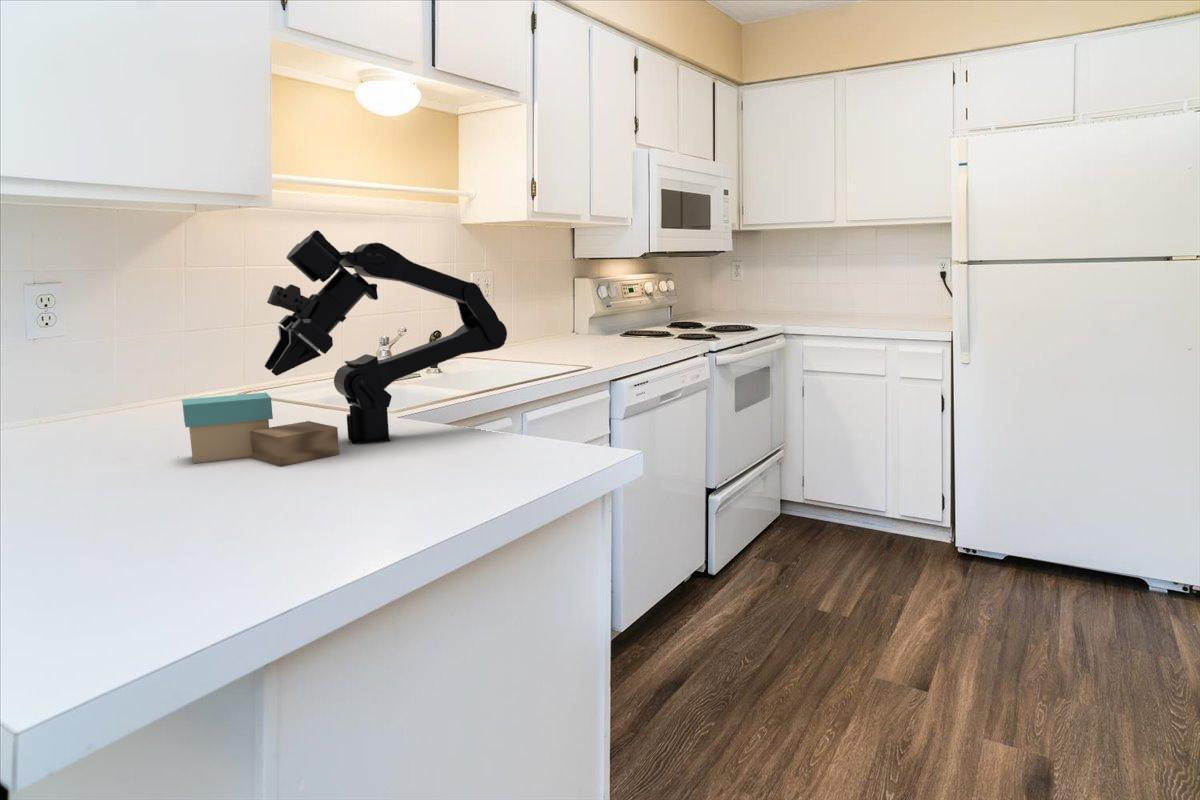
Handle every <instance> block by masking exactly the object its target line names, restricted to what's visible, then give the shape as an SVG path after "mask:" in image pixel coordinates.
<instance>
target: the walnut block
mask: <svg viewBox="0 0 1200 800" xmlns="http://www.w3.org/2000/svg"><path fill="white" fill-rule="evenodd" d="M338 431H339V429H338V427H337V426H333V425H329V424H324V423H318V422H314V421H310V420H307V421H301V422H296V423H289V424H283V425H276V426H271V427H270V426H269V428H263V429H257V430H251V431H250V432H251V443H252V454H253V456H252V459H255V460H258V461H261V462H265V463H268V464H271V465H275V466H279V467H283V466H288V465H293V464H299V463H303V462H308V461H312V460H317V459H323V458H327V457H333V456H337V455H340V446H339V445H340V444H339V433H338Z"/></svg>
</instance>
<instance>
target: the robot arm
mask: <svg viewBox="0 0 1200 800" xmlns="http://www.w3.org/2000/svg"><path fill="white" fill-rule="evenodd" d="M286 260H288V262H289V263H291V264H292V265H293V266H294V267H296V268H297V269H298V270H299V271H300V273H302V274H303V275H304V276H305V277H307V278H308V279H309V280H310V281H311V282H312V283H315V282H317V281H318V280H319V281H320V282H321V283H325V282H326V281H327V282H326V284H325V285H324V286H322V288H321V289H320V290H319V291H318V292H317V293H314V294H313V293H311V295H310V296H309V297H306V296H305V295H303V294H302V293H301V287H300V286H296V285H294V284H289V285H287V286H285V288H284V287H283V286H278V285H273V287H272V289H271V292H270V294H269V297H268V299H267V301H266V303H267V304H269V305H272V306H274V307H279V308H282V309H284V310H288V311H290V312H292V314H286V315H285V316H284V317H283V318H282V319H281V320H280V321H279V322H278V324H279V325H277V328H278V334H279V338H278V341H277V343H276V344H275V346H274V347H273V350H272V352H271V353H270V355H269V357H268V359H267V361H266V363H265V364H264V368H266V369H267V370H268V371H271V373H272V374H273V375H274V376H276V377H278V376H279V375H282V374H284V373H286V372H289V371H290V370H292V369H295V368H296V367H297V368H298V367H299V366H301V365H303V364H305V363H307V362H310V361H312V360H314V359H316V358H318V357H321V356H322V354H324V355H325V354H327V353H328V351H330V349H332V347H333V346H334V343H333V342H334V341H333V336H331V335H330V333H331V332H332V331H333V330H334V329H335V328H336V327H337V325H338V324H339V323H343V322H344V321H346V319H347V317H346V316H347V315H348V314H349V312H350V311H351V310H352V309H353V308H354V307H355V306H356V304H358V303H359V302H360V300H361V299H362V298H363V297H364V296H366V297H367V298H368V299H369V300H374V301H377V300H379V296H378V291H377V290H378V284H377V283H369V282H368V281H367V280H366V279H364V277H365V278H371V279H379V280H386V281H393V282H400V283H404V284H407V285H409V286H412V287H414V288H418V289H421V290H424V291H427V292H430V293H433V294H435V295H436V294H437V295H438V296H442V297H445V298H448V299H450V300H454V301H455V303H456V304H457V307H458V310H459V311H458V312H459V316H460V320H461V321H462V323H463V325H461V326H459V327H458V328H457V329H456V330H455V331H454V332H452V333H451V334H448V335H446V336H444V337H441V338H438V339H435V340H433V341H430V342H427V343H425V344H422V345H419V346H416V347H414V348H411V349H408V350H404V351H403V352H401V353H397V354H395V355H392V356H388V357H386V358H384V359H378V356H375V355H371V354H367V353H366V354H363V355H361V356H359V357H358V358H356V359H353V360H344V363H345V364H344V365H342V366H340V367H339V368H338V369H337V370H336V372H335V374H334V376H333V385H334V388H335V390H336V391H337V392H338V393H339V394H340V395H342V396H343V397H344V398H345V401H346V402H347V404H348V405H349V406H348V407H349V413H348V414H346V425H347V426H346V427H347V429H346V430H347V439H348V440H349V441H350V442H351V445H362V444H372V443H374V442H375V443H384V442H386V441H387V442H391V436H390V431H389V429H390V428H389V415H388V408H389V407H390V404H391V401H392V399H393V398H392V397H393V396H392V395H391V394H390V393H389V392H388V391H387V390H386V388H387V387H389V385H392V383H393V382H395V381H397V380H399V379H402V378H405V377H407V376H409V375H412V374H415V373H417V372H420V371H423V370H425V369H428V368H430V367H433V366H436V365H438V364H441V363H444V362H446V361H449V360H451V359H454V358H457V357H460V356H462V355H466V354H473V353H483V352H488V351H489V352H490V351H494V350H498V349H500V348H502V347H503V346H504V345H505V344H506V340H507V337H508V330H507V327H506V325H505V324H504V323H503V321H502V320H500V319H499V317H498V315H497V313H496V310H494V308H493V306H491V304H490V303H489V301H488V300H487V299H486V297H485V296H484V294H483V292H482V290H481V288H480V287H479V285H478V284H477V283H475V282H473V281H472V282H469V281H465V280H463V279H460V278H458V277H455V276H452V275H449V274H446V273H443V272H441V271H437V270H435V269H432V268H429V267H427V266H424V265H422V264H420V263H419V264H418V263H416V262H413V261H412V260H409V259H408V258H406V257H405V256H404V255H403V254H401V253H400V252H398V251H396V250H394V249H392V248H391V247H389V246H387V245H386V244H384V243H381V242H371V243H364V244H363V243H362V244H360V245H358V246H357V247H356V248H354V249H353V251H352V252H350V251H348V250H346V251H345V250H344V251H339V250H338V249H337V248H336V247H335V246H334V245H332V243H330V242H329V241H328V239H326V237H325V235H324V234H322V232H320V231H319V229H317V230H313V231H312V232H311V233H310V234H309V235H308V236H307V237H304V239H302V241H300V242H299V243H296V244H295V245H294V247H293V248H292V249H291V250H290V251H289V252H288V253H287V255H286ZM346 268H349V269H353V270H354V271H355V272H354V273H351V272H350V271H348V270H347V269H346ZM337 270H338V271H337ZM336 271H337V272H336ZM334 273H335V274H334ZM332 276H333V277H332ZM330 278H331V279H330ZM321 353H322V354H321Z"/></svg>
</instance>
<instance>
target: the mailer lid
mask: <svg viewBox="0 0 1200 800" xmlns="http://www.w3.org/2000/svg"><path fill="white" fill-rule="evenodd" d="M181 402H182V412H183V421H184V426H185V428H189V427H195V426H205V425H215V424H226V423H236V422H246V421H256V420H267V419H269V420H273V418H274V417H273V406H272V405H273V404H272V397H271V396H270V395H269V394H268V393H267V392H258V393H257V392H256V393H247V394H246V393H245V394H244V393H243V394H233V395H220V396H209V397H196V398H185V399H181Z"/></svg>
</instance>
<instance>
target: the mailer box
mask: <svg viewBox="0 0 1200 800" xmlns="http://www.w3.org/2000/svg"><path fill="white" fill-rule="evenodd" d="M188 428H189V438H190V448H191V457H192V462H193V464H198V463H199V464H200V463H206V462H207V463H208V462H218V461H222V460H223V461H224V460H225V461H226V460H233V459H241V458H250V457H253V454H252V443H251V432H250V431H251V430H257V429H263V428H270V419H267V420H256V421H246V422H236V423H226V424H215V425H205V426H195V427H188Z"/></svg>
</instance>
